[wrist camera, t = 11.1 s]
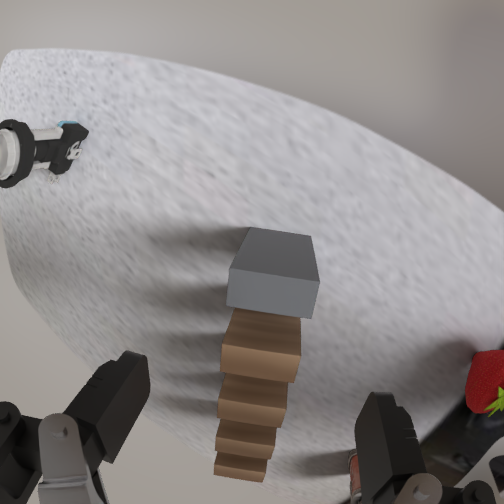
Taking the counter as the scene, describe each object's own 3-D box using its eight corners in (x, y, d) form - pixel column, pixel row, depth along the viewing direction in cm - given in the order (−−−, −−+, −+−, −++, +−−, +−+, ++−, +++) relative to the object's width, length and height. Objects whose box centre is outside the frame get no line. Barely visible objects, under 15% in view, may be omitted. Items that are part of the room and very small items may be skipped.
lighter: (346, 450, 34) (351, 510, 24) (370, 445, 33) (379, 505, 24) (348, 474, 36) (352, 527, 27) (370, 470, 35) (376, 522, 26)
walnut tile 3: (237, 332, 29) (218, 398, 20) (289, 340, 28) (286, 409, 20) (235, 351, 30) (217, 417, 21) (285, 358, 29) (280, 427, 21)
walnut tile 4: (243, 283, 27) (221, 343, 19) (299, 292, 27) (301, 356, 18) (240, 307, 28) (220, 371, 20) (294, 315, 28) (293, 382, 19)
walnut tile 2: (233, 371, 31) (215, 436, 22) (280, 378, 30) (274, 446, 22) (232, 386, 31) (214, 450, 23) (277, 393, 31) (270, 459, 23)
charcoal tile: (250, 226, 25) (229, 268, 17) (310, 236, 25) (319, 281, 17) (247, 254, 26) (226, 305, 18) (305, 263, 26) (311, 319, 17)
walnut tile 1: (230, 402, 32) (214, 464, 24) (273, 409, 32) (265, 472, 24) (228, 415, 33) (213, 474, 25) (270, 421, 33) (262, 482, 24)
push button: (74, 193, 26) (0, 218, 17) (43, 167, 26) (-28, 184, 16) (101, 134, 24) (23, 137, 15) (67, 110, 24) (-9, 109, 14)
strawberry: (440, 370, 28) (471, 433, 18) (484, 320, 25) (529, 375, 16) (465, 384, 28) (494, 441, 19) (505, 339, 26) (545, 390, 16)
